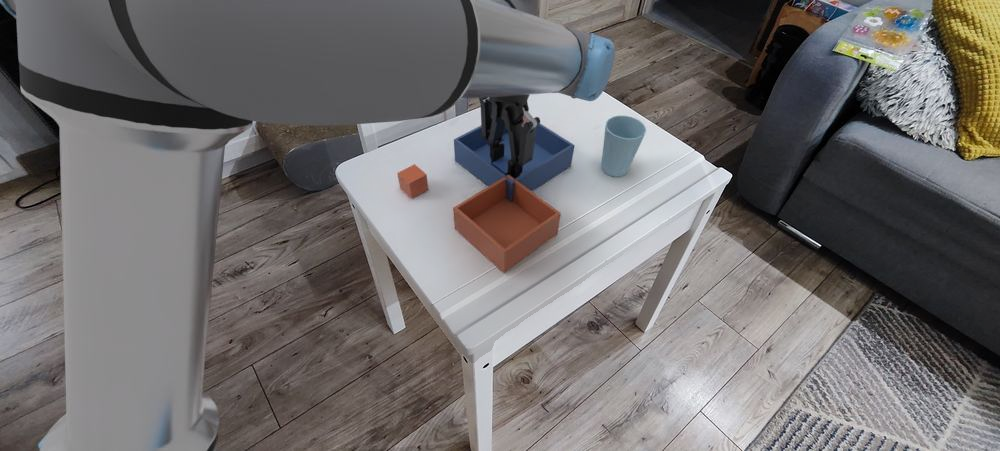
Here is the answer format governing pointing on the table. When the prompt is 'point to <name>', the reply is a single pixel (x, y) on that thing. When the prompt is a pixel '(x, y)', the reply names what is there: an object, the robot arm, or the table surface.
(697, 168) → the table surface
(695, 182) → the table surface
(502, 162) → the blue block
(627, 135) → the cup
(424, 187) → the terracotta block
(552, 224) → the terracotta bin
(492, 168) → the blue bin
